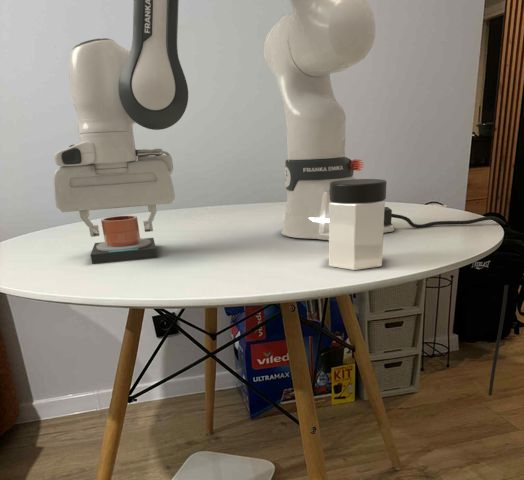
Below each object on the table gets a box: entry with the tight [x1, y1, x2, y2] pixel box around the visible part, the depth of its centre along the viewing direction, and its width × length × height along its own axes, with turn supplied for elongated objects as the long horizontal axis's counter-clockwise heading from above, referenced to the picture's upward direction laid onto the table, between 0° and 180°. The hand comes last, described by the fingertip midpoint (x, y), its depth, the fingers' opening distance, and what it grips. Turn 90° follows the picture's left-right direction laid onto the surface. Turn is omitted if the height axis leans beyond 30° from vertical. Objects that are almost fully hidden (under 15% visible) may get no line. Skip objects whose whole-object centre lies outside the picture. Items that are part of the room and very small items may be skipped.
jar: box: [328, 178, 387, 271], centre depth 75 cm, size 9×8×12 cm
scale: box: [90, 237, 158, 265], centre depth 91 cm, size 11×11×2 cm
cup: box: [100, 215, 141, 247], centre depth 90 cm, size 6×6×4 cm
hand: (122, 233), depth 90 cm, fingers open, 8 cm apart
